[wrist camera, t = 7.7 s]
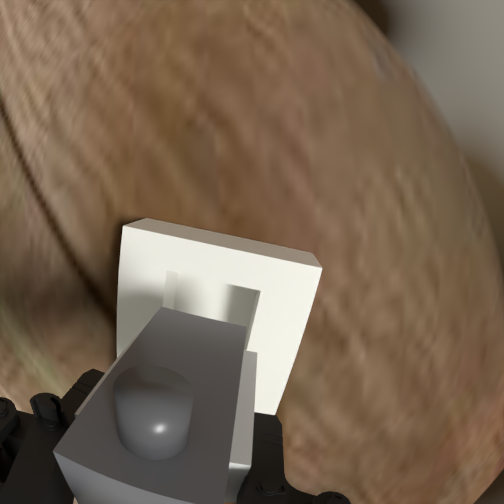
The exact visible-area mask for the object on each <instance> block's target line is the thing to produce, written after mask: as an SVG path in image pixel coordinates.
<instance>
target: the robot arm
mask: <svg viewBox="0 0 504 504" xmlns="http://www.w3.org/2000/svg"><path fill="white" fill-rule="evenodd" d="M144 327H145V326H144V325H143V326H142V328H141V329H140V330H139V331H138V332H137V334H136V335H135V336H134V337H133V339H132V340H131V341H130V342H129V344H128V345H127V346H126V348H125V349H124V350H123V351H122V353H121V354H120V355H119V356H118V358H117V359H116V360H115V361H114V363H113V364H112V365H111V367H110V368H109V369H108V370H107V372H106V373H103V372H101V371H98V370H96V369H91V370H89V371H87V372H85V373H83V374H82V376H81V377H80V378H79V379H78V380H77V382H76V383H75V384H74V385H73V386H72V388H70V390H69V391H68V392H67V393H66V394H65V396H64V397H63V398H62V399H60V398H59V397H58V396H56V395H54V394H51V393H39V394H37V395H35V396H33V397H32V398H31V399H30V404H31V407H32V410H33V413H34V414H29V413H25V412H22V411H18V410H16V407H15V405H14V403H13V402H12V401H11V400H9V399H7V398H4V397H0V504H73V500H74V495H73V493H72V491H71V489H70V487H69V485H68V483H67V481H66V479H65V477H64V475H63V473H62V471H61V468H60V466H59V464H58V462H57V460H56V457H55V455H54V453H53V450H54V448H55V447H56V446H57V444H58V443H59V441H60V440H61V438H62V437H63V436H64V434H65V433H66V431H67V430H68V429H69V427H70V426H71V424H72V423H73V422H74V420H75V419H76V417H77V416H78V415H79V413H80V412H81V410H82V409H83V408H84V406H85V405H86V404H87V402H88V401H89V400H90V398H91V397H92V395H93V394H94V393H95V391H96V390H97V389H98V387H99V386H100V385H101V383H102V382H103V381H104V379H105V378H106V377H107V375H108V374H109V373H110V371H111V370H112V369H113V367H114V366H115V365H116V364H117V362H118V361H119V360H120V358H121V357H122V356H123V354H124V353H125V352H126V351H127V349H128V348H129V347H130V345H131V344H132V343H133V342H134V340H135V339H136V338H137V336H138V335H139V334H140V333H141V331H142V330H143V329H144ZM256 370H257V352H252V351H247V350H244V353H243V361H242V369H241V377H240V385H239V393H238V401H237V408H236V416H235V424H234V432H233V439H232V447H231V455H230V462H229V470H228V478H227V485H226V493H225V500H224V501H226V502H233V503H235V502H236V500H237V502H236V504H351V503H350V501H349V499H348V498H346V497H345V496H344V495H342V494H340V493H338V492H331V491H328V492H323V493H321V494H319V495H318V496H315V495H311V494H308V493H304V492H301V491H299V490H297V489H295V488H294V487H292V486H291V485H290V484H289V483H288V482H287V480H286V478H285V474H284V458H283V445H282V444H283V437H282V424H281V422H280V421H279V419H278V417H277V416H276V415H270V414H264V413H257V412H254V408H255V389H256Z"/></svg>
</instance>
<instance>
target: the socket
mask: <svg viewBox="0 0 504 504" xmlns="http://www.w3.org/2000/svg"><path fill="white" fill-rule="evenodd" d="M321 272H322V267H321V265H320V264H319V262H318V261H317V259H316V258H315V256H314V255H313V253H310V252H306V251H301V250H297V249H292V248H287V247H283V246H278V245H274V244H269V243H264V242H260V241H255V240H250V239H246V238H241V237H236V236H231V235H227V234H222V233H217V232H212V231H208V230H203V229H198V228H193V227H188V226H183V225H179V224H174V223H169V222H164V221H159V220H154V219H149V218H144V219H141V220H138V221H135V222H132V223H129V224H127V225H124V226H123V231H122V240H121V251H120V263H119V277H118V296H117V358H118V356H119V355H120V354H121V353H122V351H123V350H124V349H125V348H126V346H127V345H128V344H129V342H130V341H131V340H132V339H133V337H134V336H135V335H136V334H137V332H138V331H139V330H140V329H141V328H142V326H143V325H144V326H146V325H147V324H148V322H149V321H150V320H151V319H152V317H153V316H154V315H155V314H156V312H157V311H158V310H159V309H160V307H165V308H169V309H173V310H177V311H181V312H185V313H189V314H193V315H197V316H201V317H206V318H210V319H214V320H219V321H223V322H228V323H232V324H237V325H242V326H247V329H246V337H245V345H244V350H247V351H252V352H257V370H256V389H255V408H254V412H257V413H264V414H270V415H275V413H276V410H277V408H278V405H279V402H280V399H281V397H282V394H283V391H284V388H285V386H286V383H287V380H288V377H289V374H290V371H291V369H292V366H293V363H294V360H295V357H296V354H297V351H298V348H299V345H300V342H301V339H302V335H303V332H304V329H305V326H306V323H307V320H308V316H309V313H310V310H311V306H312V303H313V300H314V296H315V293H316V290H317V286H318V283H319V279H320V275H321Z"/></svg>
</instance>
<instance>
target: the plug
mask: <svg viewBox="0 0 504 504" xmlns="http://www.w3.org/2000/svg"><path fill="white" fill-rule="evenodd" d="M246 329H247V326H242V325H237V324H232V323H228V322H223V321H219V320H214V319H210V318H206V317H201V316H197V315H193V314H189V313H185V312H181V311H177V310H173V309H169V308H165V307H160V309H159V310H158V311H157V312H156V314H155V315H154V316H153V317H152V319H151V320H150V321H149V322H148V324H147V325H146V326H145V327H144V329H143V330H142V331H141V333H140V334H139V335H138V336H137V338H136V339H135V340H134V342H133V343H132V344H131V345H130V347H129V348H128V349H127V351H126V352H125V353H124V354H123V356H122V357H121V358H120V360H119V361H118V362H117V364H116V365H115V366H114V367H113V369H112V370H111V371H110V373H109V374H108V375H107V377H106V378H105V379H104V381H103V382H102V383H101V385H100V386H99V387H98V389H97V390H96V391H95V393H94V394H93V395H92V397H91V398H90V400H89V401H88V402H87V404H86V405H85V406H84V408H83V409H82V410H81V412H80V413H79V415H78V416H77V417H76V419H75V420H74V422H73V423H72V424H71V426H70V427H69V429H68V430H67V431H66V433H65V434H64V436H63V437H62V438H61V440H60V441H59V443H58V444H57V446H56V447H55V448H54V450H53V453H54V455H55V457H56V460H57V462H58V464H59V466H60V468H61V471H62V473H63V475H64V477H65V479H66V481H67V483H68V485H69V487H70V489H71V491H72V493H73V495H74V496H75V498H76V500H77V502H78V504H224V500H225V493H226V485H227V478H228V470H229V462H230V455H231V447H232V439H233V432H234V424H235V416H236V408H237V401H238V393H239V385H240V377H241V369H242V361H243V353H244V345H245V337H246Z"/></svg>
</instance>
